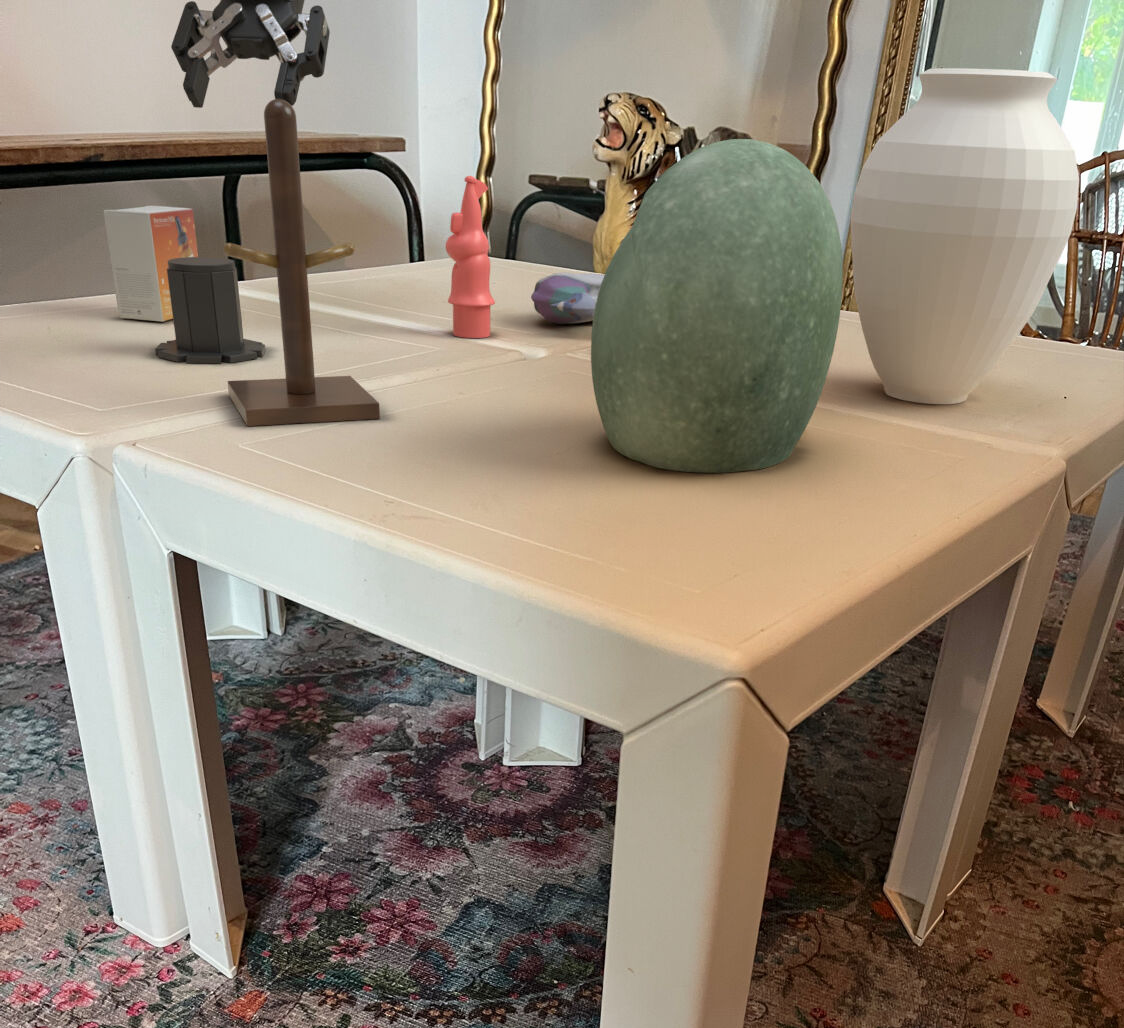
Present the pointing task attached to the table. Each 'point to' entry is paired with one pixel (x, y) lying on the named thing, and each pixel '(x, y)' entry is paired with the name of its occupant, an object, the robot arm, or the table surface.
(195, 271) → the hat
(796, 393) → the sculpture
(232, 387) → the coat stand
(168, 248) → the small box
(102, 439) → the table surface
